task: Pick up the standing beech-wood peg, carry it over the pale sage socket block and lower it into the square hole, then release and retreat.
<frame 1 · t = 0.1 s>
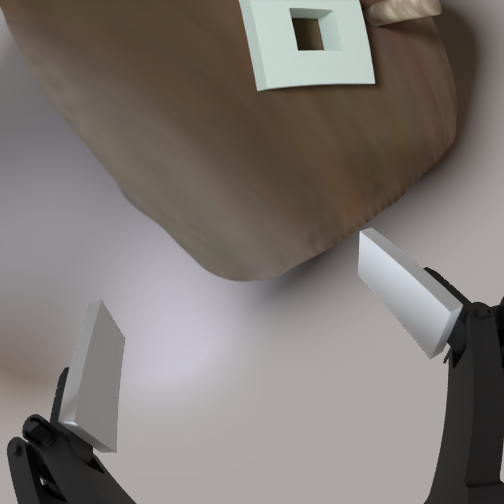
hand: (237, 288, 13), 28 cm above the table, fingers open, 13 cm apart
socket block: (301, 36, 30), on the table
peg: (372, 16, 29), on the table
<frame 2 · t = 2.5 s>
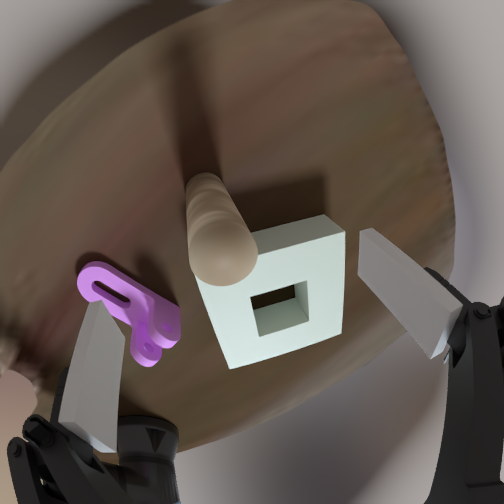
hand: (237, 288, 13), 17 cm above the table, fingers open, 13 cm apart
socket block: (269, 285, 36), on the table
peg: (204, 191, 28), on the table
bracket: (125, 294, 32), on the table
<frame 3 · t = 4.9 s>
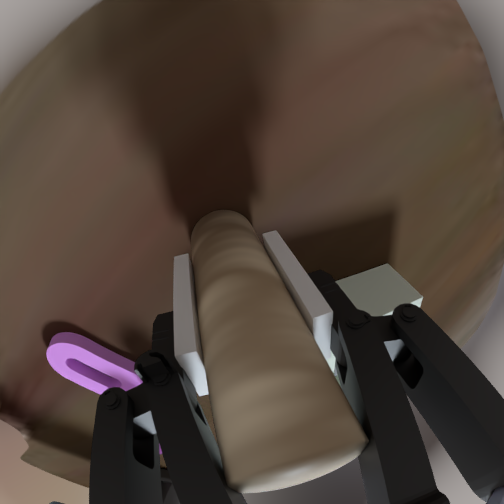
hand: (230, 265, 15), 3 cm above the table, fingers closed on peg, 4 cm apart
socket block: (306, 353, 25), on the table
peg: (222, 239, 17), on the table, touching gripper
bracket: (113, 369, 21), on the table
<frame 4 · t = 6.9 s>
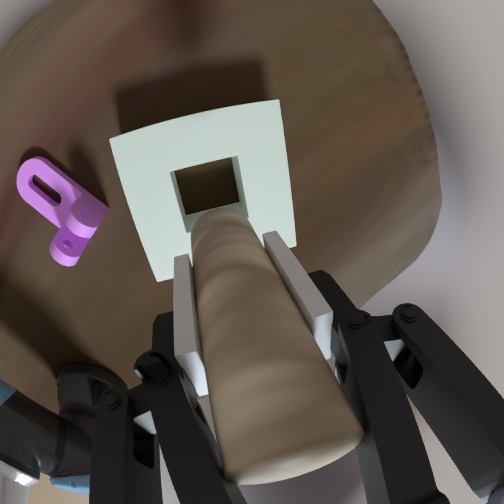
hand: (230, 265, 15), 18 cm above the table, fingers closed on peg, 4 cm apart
socket block: (206, 182, 30), on the table
peg: (221, 237, 18), point 15 cm above the table, touching gripper
bracket: (59, 195, 27), on the table
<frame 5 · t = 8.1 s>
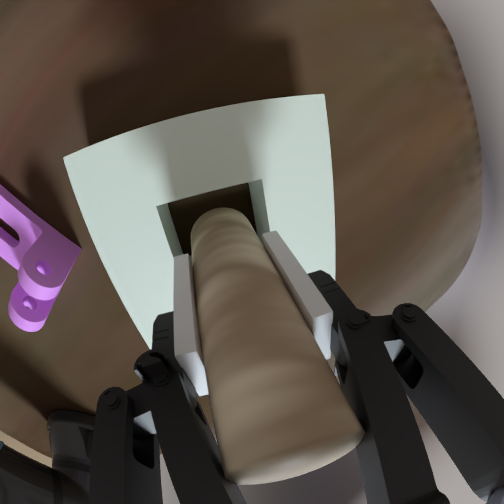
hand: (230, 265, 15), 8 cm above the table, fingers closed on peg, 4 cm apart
socket block: (212, 212, 22), on the table
peg: (221, 237, 18), point 5 cm above the table, touching gripper
bracket: (19, 230, 18), on the table
when the fingers open (6 cm above the table, at t = 9.1 s): peg drops 2 cm, resting in socket block.
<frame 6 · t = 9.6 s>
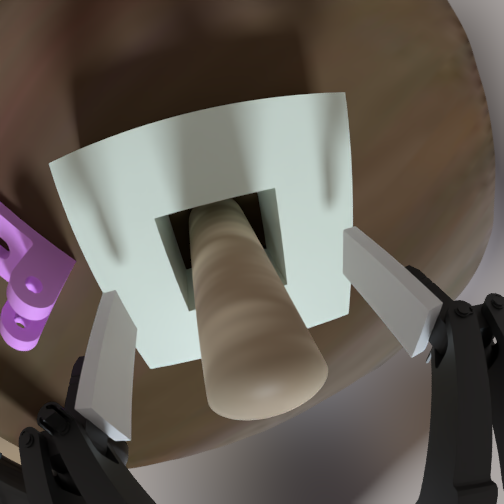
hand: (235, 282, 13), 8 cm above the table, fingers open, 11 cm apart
socket block: (217, 221, 20), on the table
peg: (216, 221, 20), resting in socket block
bracket: (10, 240, 16), on the table
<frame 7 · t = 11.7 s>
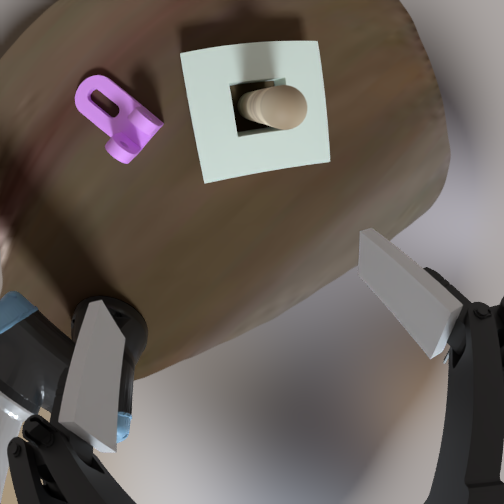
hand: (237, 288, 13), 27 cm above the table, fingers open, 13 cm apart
socket block: (253, 105, 33), on the table
peg: (252, 105, 33), resting in socket block
bracket: (116, 110, 29), on the table
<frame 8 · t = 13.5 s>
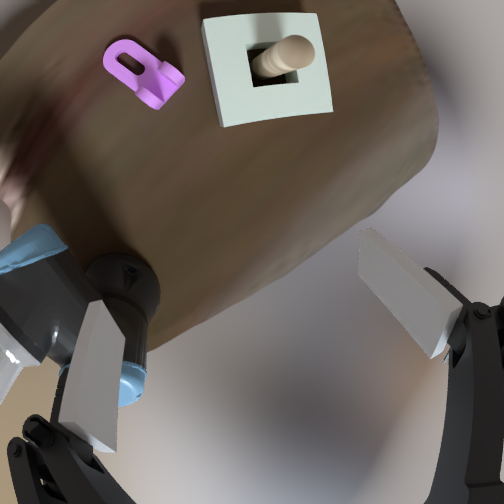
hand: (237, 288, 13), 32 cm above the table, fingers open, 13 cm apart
socket block: (262, 67, 35), on the table
peg: (262, 67, 35), resting in socket block
bracket: (140, 71, 31), on the table
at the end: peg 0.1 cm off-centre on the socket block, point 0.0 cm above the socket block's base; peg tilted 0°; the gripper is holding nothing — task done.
